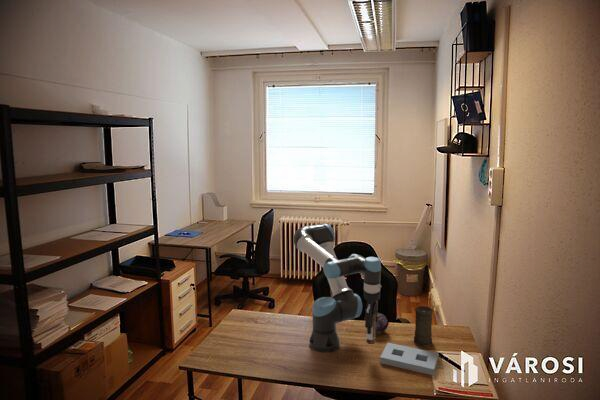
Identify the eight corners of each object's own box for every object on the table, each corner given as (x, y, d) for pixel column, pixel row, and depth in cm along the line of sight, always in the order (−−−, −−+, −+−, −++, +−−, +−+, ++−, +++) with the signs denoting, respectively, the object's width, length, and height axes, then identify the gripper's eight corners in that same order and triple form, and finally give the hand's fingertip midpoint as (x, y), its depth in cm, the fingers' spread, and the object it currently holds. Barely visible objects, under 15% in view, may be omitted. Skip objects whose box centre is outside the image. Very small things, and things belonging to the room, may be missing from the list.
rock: (370, 337, 217) (389, 337, 216) (370, 324, 214) (390, 324, 213) (368, 324, 228) (387, 324, 227) (368, 310, 225) (387, 310, 224)
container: (433, 348, 203) (434, 314, 200) (414, 346, 205) (415, 312, 202) (431, 339, 212) (432, 306, 209) (413, 337, 214) (414, 305, 211)
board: (380, 362, 192) (380, 357, 192) (387, 348, 204) (387, 342, 204) (433, 375, 182) (434, 369, 181) (438, 359, 194) (438, 353, 194)
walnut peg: (365, 343, 195) (365, 315, 192) (367, 338, 199) (368, 312, 196) (373, 345, 193) (374, 317, 191) (376, 340, 197) (376, 313, 194)
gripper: (374, 299, 182) (373, 347, 186) (384, 285, 197) (383, 330, 201) (358, 296, 185) (357, 344, 190) (369, 282, 200) (368, 326, 205)
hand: (370, 336), depth 195 cm, fingers closed on walnut peg, 4 cm apart
